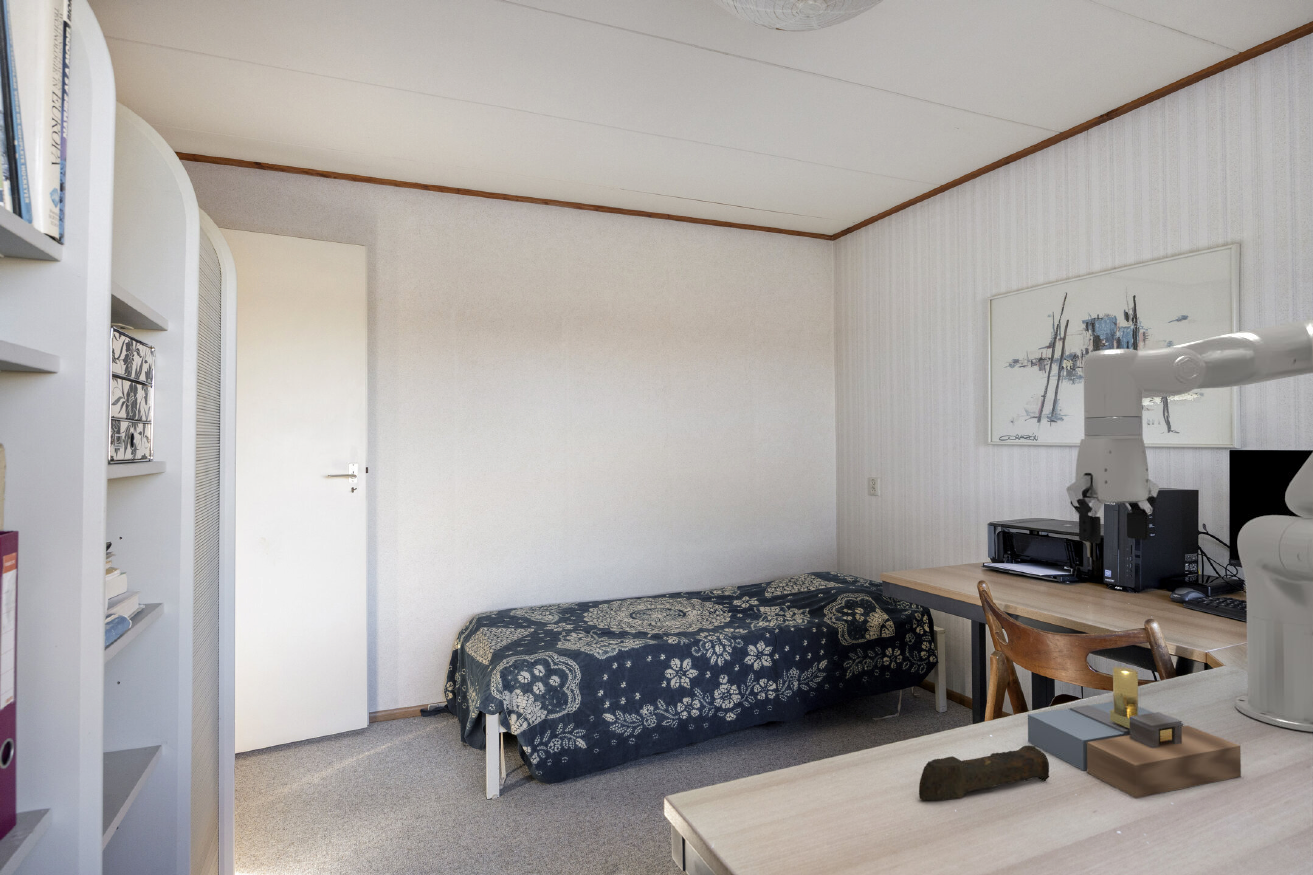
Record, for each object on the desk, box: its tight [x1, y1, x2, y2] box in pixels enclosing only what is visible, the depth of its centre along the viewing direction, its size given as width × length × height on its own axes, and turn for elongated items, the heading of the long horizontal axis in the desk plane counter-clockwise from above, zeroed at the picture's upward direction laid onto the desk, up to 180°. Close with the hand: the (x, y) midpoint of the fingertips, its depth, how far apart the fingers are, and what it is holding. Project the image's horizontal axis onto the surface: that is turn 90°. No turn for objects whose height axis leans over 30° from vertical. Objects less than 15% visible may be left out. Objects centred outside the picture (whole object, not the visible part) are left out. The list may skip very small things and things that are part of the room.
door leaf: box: [1027, 701, 1184, 771], centre depth 96 cm, size 18×9×4 cm, turn 106°
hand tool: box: [918, 744, 1050, 802], centre depth 85 cm, size 19×4×5 cm, turn 107°
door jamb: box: [1086, 711, 1242, 799], centre depth 88 cm, size 18×7×7 cm, turn 106°
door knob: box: [1110, 666, 1172, 742], centre depth 91 cm, size 3×7×7 cm, turn 16°
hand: (1114, 540), depth 104 cm, fingers open, 9 cm apart
